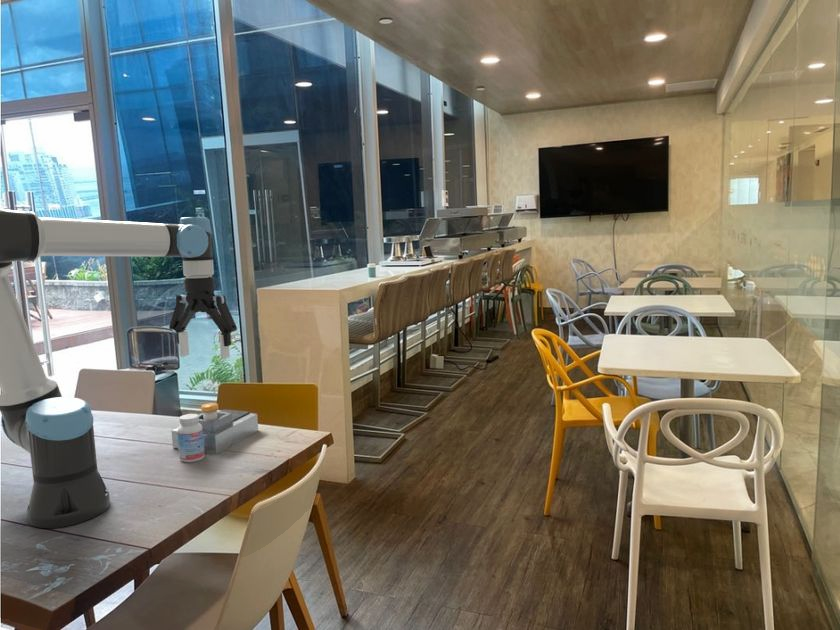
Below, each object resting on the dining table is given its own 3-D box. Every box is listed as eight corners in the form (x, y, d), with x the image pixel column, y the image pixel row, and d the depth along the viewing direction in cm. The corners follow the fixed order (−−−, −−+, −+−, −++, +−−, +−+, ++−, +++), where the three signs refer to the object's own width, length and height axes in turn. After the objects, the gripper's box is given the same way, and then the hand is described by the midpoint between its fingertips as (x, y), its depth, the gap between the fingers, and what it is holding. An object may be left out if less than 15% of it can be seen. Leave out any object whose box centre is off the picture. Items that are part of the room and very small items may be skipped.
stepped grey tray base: (216, 453, 161) (214, 424, 159) (172, 448, 165) (170, 419, 164) (258, 430, 178) (256, 403, 177) (217, 426, 183) (216, 400, 182)
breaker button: (213, 435, 164) (211, 408, 163) (199, 434, 166) (197, 407, 165) (223, 430, 168) (221, 403, 167) (210, 429, 170) (208, 402, 169)
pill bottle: (188, 465, 154) (184, 421, 152) (174, 459, 157) (171, 417, 156) (209, 457, 158) (206, 415, 157) (195, 452, 162) (192, 411, 160)
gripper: (247, 275, 161) (252, 356, 164) (170, 274, 168) (176, 351, 172) (230, 278, 154) (235, 362, 157) (150, 277, 161) (157, 357, 165)
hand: (204, 356), depth 164 cm, fingers open, 12 cm apart
